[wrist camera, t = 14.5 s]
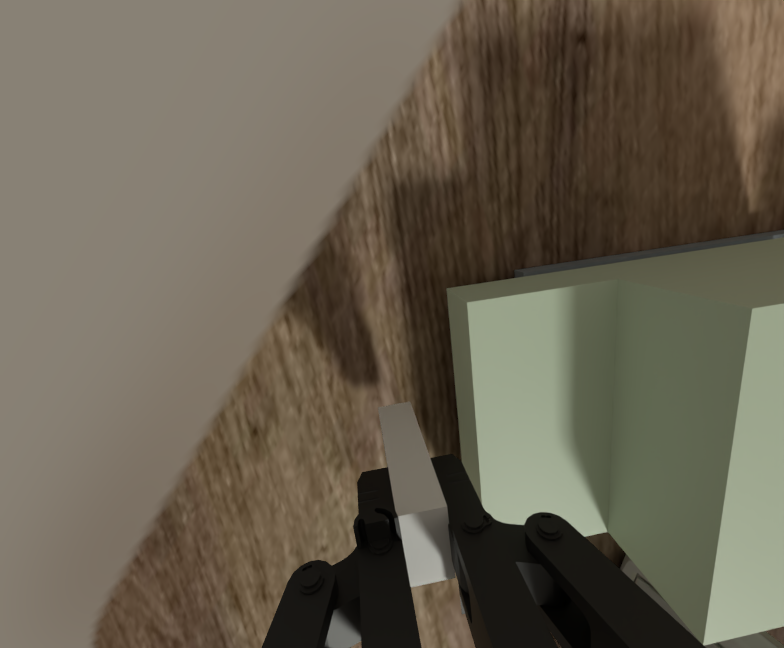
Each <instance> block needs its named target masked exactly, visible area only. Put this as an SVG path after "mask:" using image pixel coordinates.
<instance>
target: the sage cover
mask: <svg viewBox="0 0 784 648" xmlns="http://www.w3.org/2000/svg"><path fill="white" fill-rule="evenodd" d="M447 300H448V311H449V322H450V334H451V345H452V356H453V367H454V379H455V390H456V401H457V413H458V424H459V435H460V446H461V458H462V464H463V466H464V468H465V470H466V472H467V474H468V476H469V479H470V481H471V483H472V485H473V487H474V489H475V491H476V493H477V495H478V497H479V499H480V502H481V504H482V506H483V508H484V509H485V511H486V512H487V513H489V514H491V516H492V517H493V518H494V519H495V520H497V521H500V522H503V523H507V524H517V525H524V524H525V522H526V520H527V518H528V517H529V516H531V515H532V514H535V513H539V512H548V513H552V514H555V515H558V516H560V517H562V518H563V519H565V520H566V521H567V522H569V523H570V524H571V525H572V526H573V527H574V528H575V529H576V530H577V531H578V532H580V533H581V534H582V535H583V536H584V537H586V536H591V535H596V534H600V533H605V532H608V533H609V534H610V535H611V536H612V538H613V539H614V540H615V541H616V542H617V544H618V545H619V546H620V547H621V548H622V550H623V551H624V552H625V553H626V554H627V555H628V557H629V558H630V559H631V560H632V561H633V563H634V564H635V565H636V566H637V567H638V569H639V570H640V571H641V572H642V573H643V575H644V576H645V577H646V578H647V579H648V581H649V582H650V583H651V584H652V585H653V587H654V588H655V589H656V590H657V591H658V592H659V594H660V595H661V596H662V597H663V598H664V600H665V601H666V602H667V603H668V604H669V606H670V607H671V608H672V609H673V610H674V612H675V613H676V614H677V615H678V616H679V618H680V619H681V620H682V621H683V622H684V624H685V625H686V626H687V627H688V628H689V629H690V631H691V632H692V633H693V634H694V635H695V637H696V638H697V639H698V640H699V641H700V642H701V643H702V644H703V645H708V644H713V643H717V642H721V641H725V640H729V639H733V638H738V637H742V636H746V635H750V634H754V633H758V632H763V631H767V630H771V629H775V628H779V627H783V626H784V237H783V238H777V239H770V240H763V241H757V242H750V243H744V244H737V245H730V246H724V247H717V248H711V249H704V250H697V251H691V252H684V253H677V254H671V255H664V256H658V257H651V258H644V259H638V260H631V261H624V262H618V263H611V264H605V265H598V266H591V267H585V268H578V269H571V270H565V271H558V272H552V273H545V274H538V275H532V276H525V277H519V278H512V279H505V280H499V281H492V282H485V283H479V284H472V285H466V286H459V287H452V288H447Z"/></svg>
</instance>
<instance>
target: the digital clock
mask: <svg viewBox="0 0 784 648" xmlns="http://www.w3.org/2000/svg"><path fill="white" fill-rule="evenodd" d="M620 570H621V571H622V572H624V573H625V574H626V575H627V576H628V577H629V578H630V579H631V580H632V581H633V582H635V583H636V584H637V585H638V586H639V587H640V588H641V589H642V590H643V591H644V592H646V593H647V594H648V595H649V596H650V597H651V598H652V599H653V600H654V601H656V602H657V603H658V604H659V605H660V606H661V607H662V608H663V609H664V610H665V611H667V612H668V613H669V614H670V615H671V616H672V617H673V618H674V619H675V620H676V621H678V622H679V623H680V624H681V625H682V626H683V627H684V628H685V629H686V630H687V631H689V632H690V633H691V634H692V635H693V636H694V637H695V635H694V634H693V633H692V632H691V631H690V629H689V628H688V627H687V626H686V625H685V624H684V622H683V621H682V620H681V619H680V618H679V616H678V615H677V614H676V613H675V612H674V610H673V609H672V608H671V607H670V606H669V604H668V603H667V602H666V601H665V600H664V598H663V597H662V596H661V595H660V594H659V592H658V591H657V590H656V589H655V588H654V587H653V585H652V584H651V583H650V582H649V581H648V579H647V578H646V577H645V576H644V575H643V573H642V572H641V571H640V570H639V569H638V567H637V566H636V565H635V564H634V563H633V561H632V560H631V559H630V558H629V557H628V555H627V554H626V555H625V558H624V560H623V562H622V565H621V567H620ZM695 638H696V637H695ZM696 639H697V638H696ZM697 640H698V639H697ZM698 641H699V640H698ZM704 646H705V647H706V648H784V645H783V644H781V643H780V642H779V641H777V640H776V639H775V638H774V637H772V636H771V635H770V634H768V633H767V632H766V631H763V632H758V633H754V634H750V635H746V636H742V637H738V638H733V639H729V640H725V641H721V642H717V643H713V644H708V645H704Z"/></svg>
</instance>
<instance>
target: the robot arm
mask: <svg viewBox="0 0 784 648" xmlns="http://www.w3.org/2000/svg"><path fill="white" fill-rule="evenodd" d="M378 411H379V417H380V423H381V429H382V435H383V442H384V448H385V454H386V460H387V466H388V467H387V468H382V469H377V470H371V471H366V472H362V474H361V476H360V478H359V480H358V482H357V486H358V509H359V514H358V516H357V517H356V519H355V521H354V525H353V528H354V533H355V538H356V543H357V547H356V548H355V550H354V551H353V552H352V553H351V554H350V555H349V556H348V557H347V558H345V559H344V560H342V561H340V562H338V563H336V564H335V565H333V566H331V565H330V564H329V563H328V562H326V561H321V560H316V561H310V562H308V563H306V564H304V565H302V566H300V567H299V568H298V569H297V570H296V571H295V572H294V573H293V574H292V576H291V578H290V579H289V581H288V583H287V586H286V588H285V591H284V593H283V596H282V598H281V601H280V603H279V606H278V608H277V611H276V613H275V616H274V618H273V621H272V623H271V626H270V628H269V631H268V633H267V636H266V638H265V641H264V643H263V646H262V648H351V647H352V646H353V645H355V644H357V643H358V642H360V641H362V648H421V643H420V638H419V632H418V626H417V621H416V615H415V610H414V604H413V598H412V593H411V587H415V586H420V585H424V584H429V583H434V582H438V581H443V580H447V579H452V578H455V572H456V576H457V579H458V583H459V592H460V600H461V609H462V614H466V617H467V620H468V624H469V627H470V630H471V634H472V637H473V640H474V644H475V647H476V648H558V647H557V645H556V643H555V641H554V639H553V637H552V635H553V636H554V637H555V639H556V640H557V641H558V643H559V644H560V645H561V647H562V648H706V647H705V646H704V645H703V644H702V643H701V642H700V641H698V640H697V639H696V638H695V637H694V636H693V635H692V634H691V633H690V632H689V631H687V630H686V629H685V628H684V627H683V626H682V625H681V624H680V623H679V622H678V621H676V620H675V619H674V618H673V617H672V616H671V615H670V614H669V613H668V612H667V611H665V610H664V609H663V608H662V607H661V606H660V605H659V604H658V603H657V602H656V601H654V600H653V599H652V598H651V597H650V596H649V595H648V594H647V593H646V592H644V591H643V590H642V589H641V588H640V587H639V586H638V585H637V584H636V583H635V582H633V581H632V580H631V579H630V578H629V577H628V576H627V575H626V574H625V573H624V572H622V571H621V570H620V569H619V568H618V567H617V566H616V565H615V564H614V563H613V562H611V561H610V560H609V559H608V558H607V557H606V556H605V555H604V554H603V553H602V552H600V551H599V550H598V549H597V548H596V547H595V546H594V545H593V544H592V543H591V542H589V541H588V540H587V539H586V538H585V537H584V536H583V535H582V534H581V533H580V532H578V531H577V530H576V529H575V528H574V527H573V526H572V525H571V524H570V523H569V522H567V521H566V520H565V519H563V518H562V517H560V516H558V515H555V514H552V513H548V512H539V513H535V514H532V515H531V516H529V517H528V518H527V520H526V522H525V524H524V525H517V524H507V523H503V522H500V521H497V520H495V519H494V518H493V517H492V516H491V514H489V513H487V512H486V511H485V509H484V508H483V506H482V504H481V502H480V499H479V497H478V495H477V493H476V491H475V489H474V487H473V485H472V483H471V481H470V479H469V476H468V474H467V472H466V470H465V468H464V466H463V464H462V462H461V461H460V460H459V459H458V458H457V457H455V456H454V455H453V454H449V455H444V456H439V457H434V458H430V456H429V453H428V451H427V448H426V445H425V442H424V439H423V436H422V433H421V431H420V428H419V425H418V422H417V419H416V416H415V414H414V411H413V408H412V405H411V402H405V403H400V404H394V405H389V406H383V407H378ZM454 569H455V570H454ZM550 632H551V633H552V635H551V633H550Z"/></svg>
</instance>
